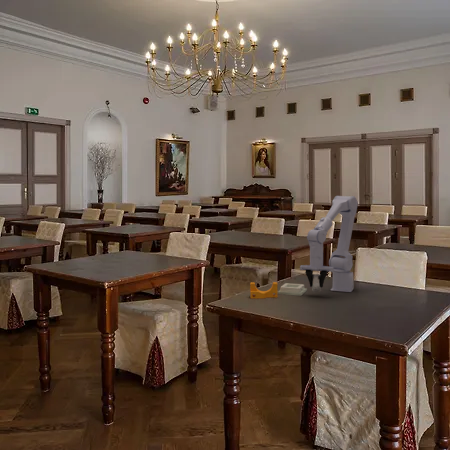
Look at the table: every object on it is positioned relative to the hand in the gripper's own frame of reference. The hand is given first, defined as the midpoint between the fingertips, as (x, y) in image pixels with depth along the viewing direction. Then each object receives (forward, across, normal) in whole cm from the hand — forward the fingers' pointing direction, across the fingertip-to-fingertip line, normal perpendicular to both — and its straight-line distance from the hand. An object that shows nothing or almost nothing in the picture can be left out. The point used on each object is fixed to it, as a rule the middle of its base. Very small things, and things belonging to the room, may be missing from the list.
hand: (316, 286), depth 219 cm
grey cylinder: (+2, 0, 0) cm, 2 cm away
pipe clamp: (+4, -22, -10) cm, 24 cm away
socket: (+4, -12, +4) cm, 13 cm away
